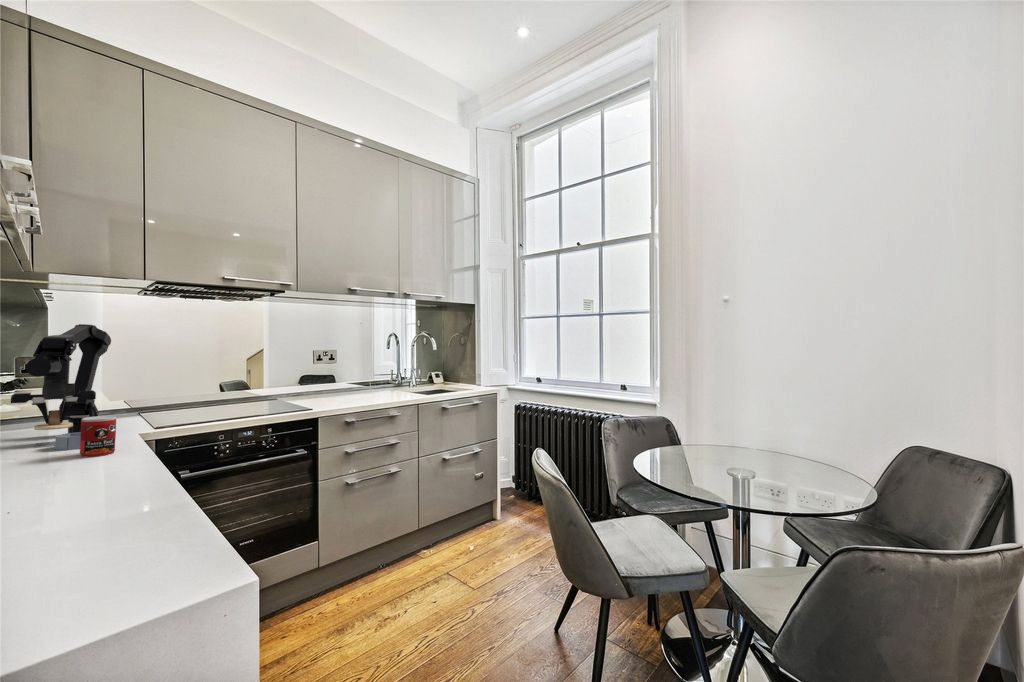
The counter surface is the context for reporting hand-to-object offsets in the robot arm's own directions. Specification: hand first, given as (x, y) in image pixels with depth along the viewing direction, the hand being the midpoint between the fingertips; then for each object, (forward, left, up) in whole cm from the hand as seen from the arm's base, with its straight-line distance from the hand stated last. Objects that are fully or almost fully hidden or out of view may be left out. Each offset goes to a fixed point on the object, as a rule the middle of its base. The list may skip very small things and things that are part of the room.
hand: (54, 423), depth 140 cm
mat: (0, 0, -7) cm, 7 cm away
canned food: (+25, +10, -8) cm, 28 cm away
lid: (0, 0, -2) cm, 2 cm away
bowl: (+11, +5, -7) cm, 14 cm away
